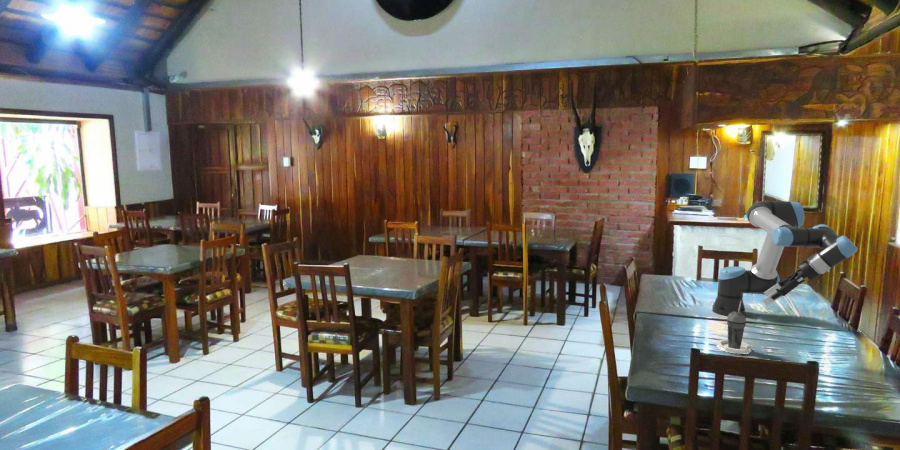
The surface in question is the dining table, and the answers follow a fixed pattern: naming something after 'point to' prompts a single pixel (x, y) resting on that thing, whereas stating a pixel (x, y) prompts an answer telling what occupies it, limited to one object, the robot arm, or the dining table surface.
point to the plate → (724, 346)
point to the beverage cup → (735, 328)
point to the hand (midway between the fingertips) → (765, 299)
